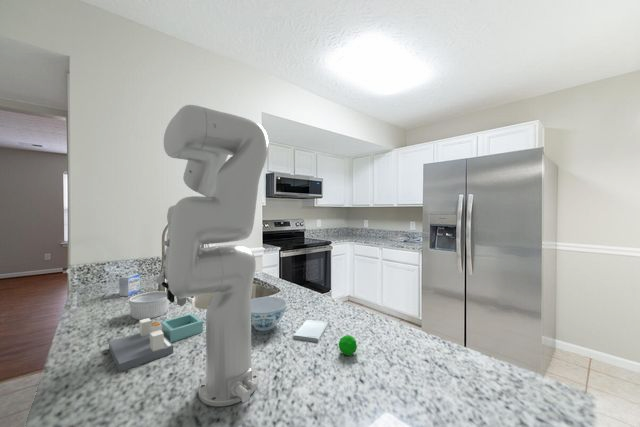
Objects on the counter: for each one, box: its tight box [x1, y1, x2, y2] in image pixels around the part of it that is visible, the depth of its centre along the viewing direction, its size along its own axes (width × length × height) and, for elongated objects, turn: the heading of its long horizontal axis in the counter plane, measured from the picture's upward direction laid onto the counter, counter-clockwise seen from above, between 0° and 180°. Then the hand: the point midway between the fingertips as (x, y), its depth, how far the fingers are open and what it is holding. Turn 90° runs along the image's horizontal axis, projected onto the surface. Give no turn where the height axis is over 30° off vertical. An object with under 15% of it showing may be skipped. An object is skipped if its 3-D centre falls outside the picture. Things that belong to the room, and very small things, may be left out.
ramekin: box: [128, 290, 170, 320], centre depth 99 cm, size 13×13×7 cm
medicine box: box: [118, 273, 141, 297], centre depth 124 cm, size 8×4×9 cm, turn 179°
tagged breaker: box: [149, 321, 162, 338], centre depth 76 cm, size 3×2×4 cm
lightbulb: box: [175, 296, 187, 307], centre depth 84 cm, size 6×6×11 cm
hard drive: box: [292, 319, 329, 343], centre depth 85 cm, size 2×8×12 cm
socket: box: [160, 313, 204, 343], centre depth 84 cm, size 10×10×4 cm
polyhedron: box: [338, 334, 358, 356], centre depth 71 cm, size 5×5×5 cm
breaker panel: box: [108, 318, 174, 373], centre depth 73 cm, size 16×12×6 cm
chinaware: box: [251, 296, 288, 332], centre depth 88 cm, size 15×15×8 cm
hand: (181, 298), depth 84 cm, fingers closed on lightbulb, 5 cm apart
